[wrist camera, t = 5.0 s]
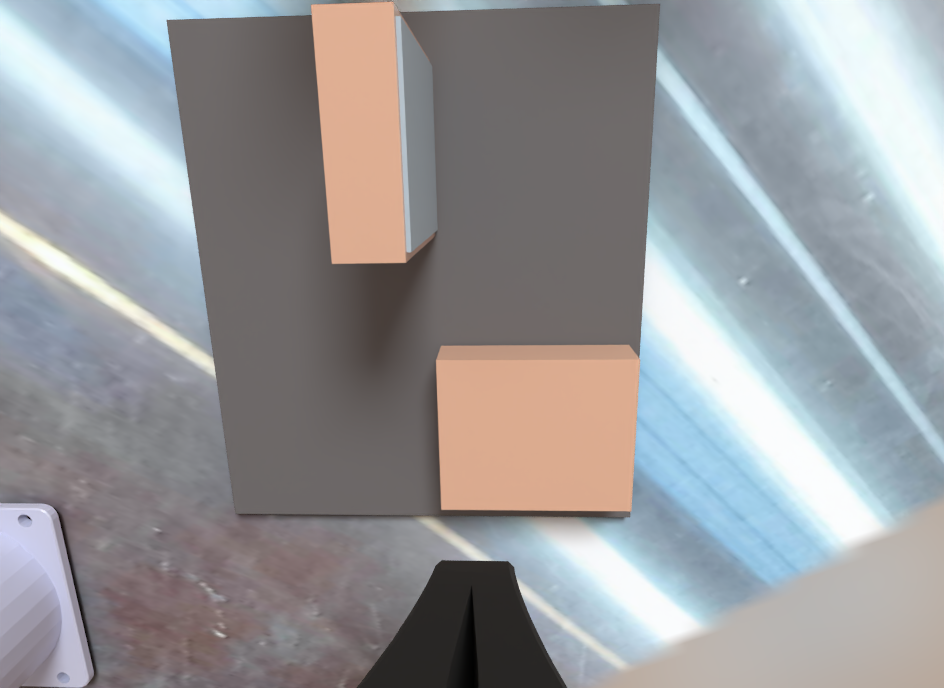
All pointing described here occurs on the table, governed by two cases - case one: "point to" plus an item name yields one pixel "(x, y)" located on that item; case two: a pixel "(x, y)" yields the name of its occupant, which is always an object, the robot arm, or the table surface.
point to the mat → (435, 265)
